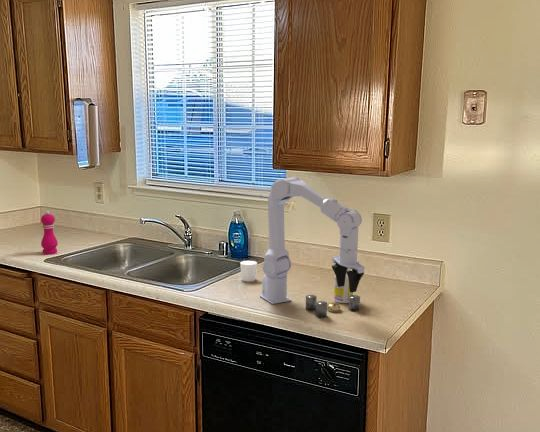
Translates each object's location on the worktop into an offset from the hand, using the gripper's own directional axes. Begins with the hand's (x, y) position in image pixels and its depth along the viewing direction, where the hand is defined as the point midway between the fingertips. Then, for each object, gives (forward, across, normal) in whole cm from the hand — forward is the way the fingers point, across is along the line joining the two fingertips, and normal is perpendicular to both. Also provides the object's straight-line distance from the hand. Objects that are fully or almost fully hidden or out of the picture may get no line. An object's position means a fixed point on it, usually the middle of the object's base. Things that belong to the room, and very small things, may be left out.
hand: (346, 289), depth 179 cm
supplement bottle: (+10, +13, -8) cm, 18 cm away
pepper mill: (+10, +130, +74) cm, 150 cm away
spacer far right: (+9, +4, +7) cm, 12 cm away
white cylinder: (+10, +51, +10) cm, 53 cm away
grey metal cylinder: (+9, +4, -6) cm, 12 cm away
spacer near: (+9, +11, +6) cm, 16 cm away
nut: (+10, +7, 0) cm, 12 cm away
